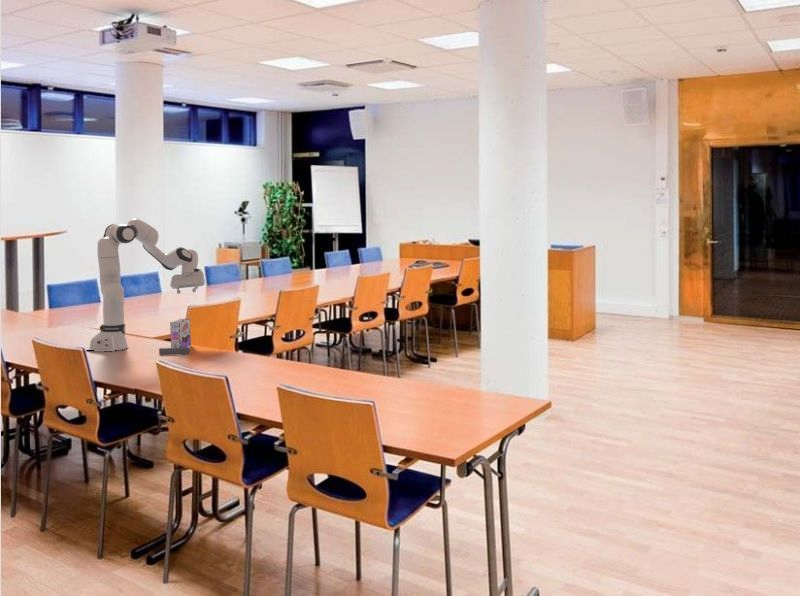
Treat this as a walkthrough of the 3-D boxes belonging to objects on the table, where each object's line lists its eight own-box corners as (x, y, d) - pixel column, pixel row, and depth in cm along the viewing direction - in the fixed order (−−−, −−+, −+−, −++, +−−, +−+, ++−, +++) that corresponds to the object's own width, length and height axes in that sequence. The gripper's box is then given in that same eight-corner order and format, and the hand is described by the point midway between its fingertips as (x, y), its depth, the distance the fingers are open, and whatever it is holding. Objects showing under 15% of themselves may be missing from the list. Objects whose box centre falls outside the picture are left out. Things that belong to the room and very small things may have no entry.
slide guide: (159, 354, 407) (159, 348, 407) (166, 348, 426) (166, 342, 425) (189, 354, 409) (188, 348, 408) (195, 347, 427) (194, 341, 427)
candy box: (180, 350, 418) (179, 322, 416) (170, 350, 419) (169, 321, 417) (191, 346, 432) (190, 318, 430) (182, 345, 433) (181, 318, 431)
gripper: (170, 272, 447) (167, 291, 440) (203, 269, 446) (200, 287, 438) (174, 278, 453) (171, 297, 445) (206, 275, 451) (204, 293, 444)
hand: (186, 292), depth 442 cm, fingers open, 8 cm apart
